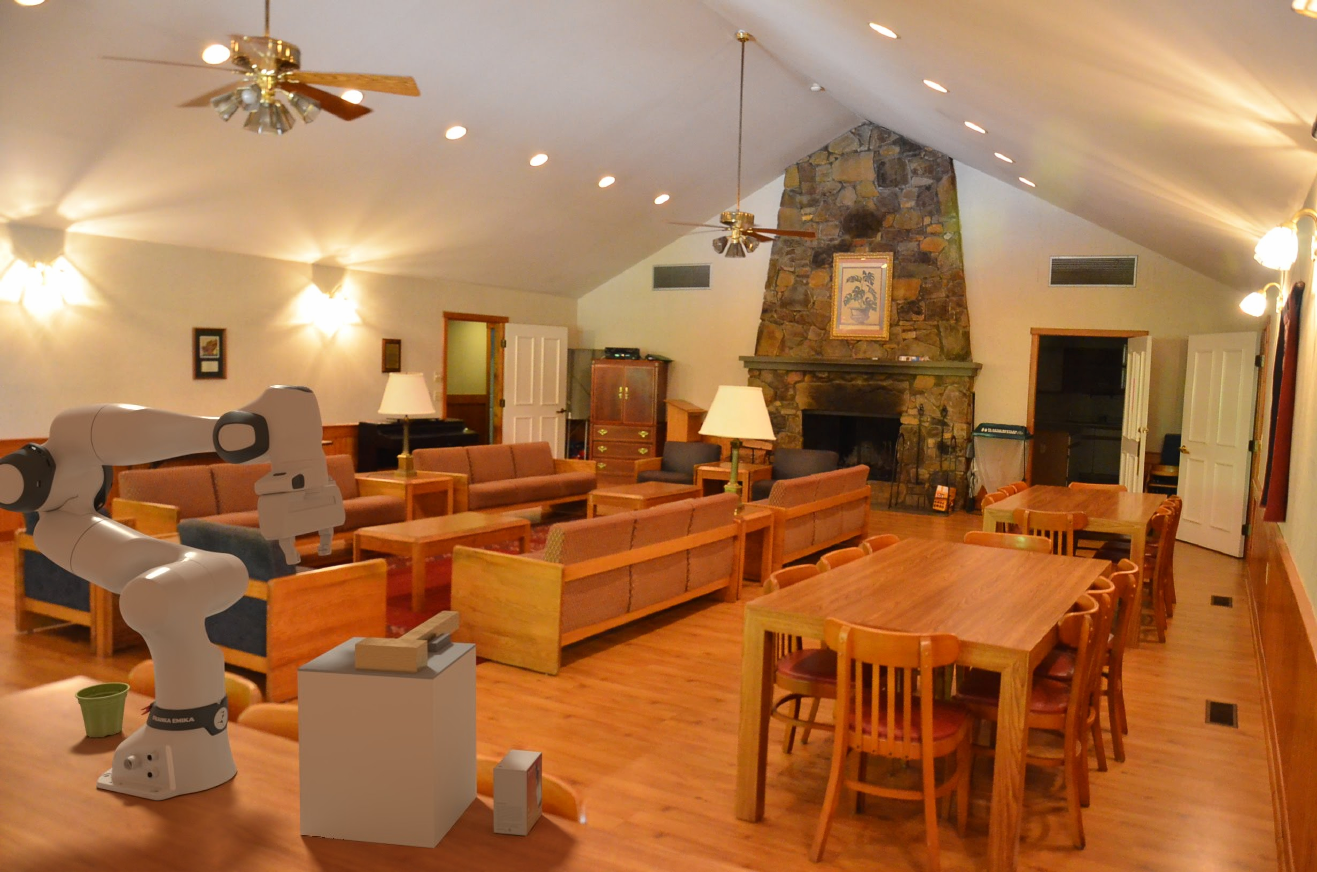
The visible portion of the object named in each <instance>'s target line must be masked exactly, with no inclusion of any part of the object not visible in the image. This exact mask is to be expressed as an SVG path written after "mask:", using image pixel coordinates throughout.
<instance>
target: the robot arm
mask: <svg viewBox="0 0 1317 872" xmlns="http://www.w3.org/2000/svg"><path fill="white" fill-rule="evenodd" d="M323 429H324V428H323V422H322V415H321V411H320V406H319V402H318V400H317V396H316V394H315V393H314V391H313V390H312V389H310V388H309V387H307V386H303V385H289V384H288V385H286V384H273V385H269V386H267V387H266V388H265V389H264V391H262V393H261V394H260V395H259V396H258V397H256V398H255V399H253V400H251V401H250V402H248V403H247V404H245V405H242V406H240V407H238V408H236V409H234V410H231V411H228V412H225V413H223V414H222V415H221V416H220V417H215V416H214V417H213V416H202V415H201V416H199V415H193V414H188V413H183V412H176V411H172V410H167V409H161V408H157V407H151V406H147V405H140V404H134V403H132V404H131V403H120V402H119V403H118V402H117V403H116V402H115V403H114V402H111V403H110V402H107V403H106V402H105V403H92V404H85V405H80V406H74V407H70V408H67V409H64V410H62V411H61V412H59V413H58V414H57V415H56V416H55V417H54V418H53V420H52V422H51V423H50V428H49V432H48V433H49V435H48V439H47V440H46V441H45V442H44V443H42V444H39V443H36V442H28V443H26V444H25V445H23V446H22V447H20V448H18V449H17V450H15V451H13V452H11V453H8V454H6V455H4V456H2V457H1V458H0V508H1V509H3V510H5V511H8V512H12V513H20V514H21V513H22V514H29V513H32V512H37V513H38V515H39V520H38V521H37V522H36V525H35V527H34V528H33V529H34V530H33V533H32V534H33V535H32V537H33V538H32V539H33V543H34V545H35V547H36V549H37V550H38V551H39V552H40V553H42V555H44V556H45V557H46V558H48V559H49V560H50V561H51V562H53V563H54V564H56V565H58V566H59V567H61V568H63V569H64V570H65V571H67V572H69V573H71V574H73V575H74V576H77V577H79V578H81V579H84V580H85V581H88V582H89V583H91V584H94V585H96V586H97V587H99V588H101V589H105V590H107V591H109V592H110V593H114V594H117V595H120V596H119V599H118V602H119V607H118V608H119V612H120V615H121V617H122V619H123V621H124V623H126V625H127V626H128V627H129V628H131V629H132V630H134V631H135V632H137V633H139V634H140V635H141V636H142V638H143V640H144V641H145V643H146V645H147V647H148V649H149V652H150V655H151V660H152V665H153V666H152V667H153V675H154V696H155V698H154V699H155V701H153V702H151V703H150V704H149V705H148V706H145V707H143V708H141V709H140V711H142V712H141V714H140V716H144V715H146V714H148V717H147V719H146V722H145V723H144V724H143V725H141V726H140V727H139V728H138V729H136V730H135V731H134V732H133V733H132V734H130V735H129V736H128V737H127V738H125V739H124V740H123V741H122V742H120V743H119V744H118V746H117V747H116V749H115V751H114V753H113V757H112V764H111V768H109V769H107V770H106V771H104V772H103V773H102V774H101V775H100V776H99V777H98V778H97V781H96V788H99V789H104V790H108V791H113V792H117V793H122V794H126V795H130V796H134V797H140V798H144V799H149V800H153V801H162V800H166V799H169V798H173V797H176V796H181V795H186V794H190V793H196V792H201V791H205V790H208V789H211V788H215V787H216V786H219V785H221V784H224V783H226V782H228V781H229V780H231V779H232V778H233V777H234V776H235V775H236V773H237V771H238V770H237V766H236V762H235V760H234V757H233V753H232V748H231V745H230V739H229V731H228V721H229V700H228V697H229V696H228V694H227V693H226V684H225V683H226V682H225V681H226V680H225V679H226V678H225V674H226V673H225V654H224V652H223V650H222V649H221V647H219V646H218V645H217V644H214V643H213V642H211V641H210V639H209V637H208V633H207V631H206V625H205V621H206V618H208V617H211V616H214V615H217V614H219V613H222V612H224V611H226V610H228V609H229V608H230V607H232V606H233V605H235V604H236V603H237V602H238V601H239V600H241V599H242V598H243V597H244V595H245V594H246V592H247V590H248V588H249V583H250V582H249V581H250V577H249V571H248V568H247V566H246V565H245V563H244V562H243V561H242V559H240V558H239V557H237V556H235V555H234V554H230V553H225V552H223V553H222V552H215V551H208V550H204V549H200V548H195V547H191V546H188V545H185V544H180V543H176V542H171V541H167V540H164V539H159V538H156V537H152V536H150V535H148V534H145V533H144V532H140V531H139V530H136V529H134V528H132V527H129V526H127V525H125V524H123V523H121V522H119V521H116V520H113V519H112V518H109V517H107V516H105V515H102V514H101V513H99V511H100V510H101V509H102V508H104V507H105V505H106V504H107V500H108V496H109V494H110V493H111V491H112V488H113V484H114V477H115V476H114V474H115V473H114V468H113V466H114V467H115V466H121V467H122V466H124V467H125V466H133V465H141V464H147V463H152V462H153V463H154V462H157V461H163V460H168V459H172V458H177V457H181V456H186V455H191V454H198V453H203V452H204V453H206V452H216V454H217V455H218V456H219V458H221V459H222V460H223V461H224V462H226V463H228V464H231V465H232V464H233V465H237V466H238V465H239V466H250V465H262V464H270V468H271V471H268V473H266V474H265V475H264V476H262V477H261V478H259V479H258V480H257V481H255V482H254V486H253V487H254V493H255V494H256V495H258V496H259V497H258V499H257V515H258V525H259V530H260V534H261V536H262V537H263V538H264V540H265V541H274V540H276V541H277V540H278V545H279V547H280V549H281V550H282V551H283V553H284V556H285V562H286V564H287V565H288V566H289V565H296V564H299V563H301V562H302V561H301V560H302V559H301V553H300V552H301V551H297V549H296V546H295V543H296V536H300V535H305V534H308V533H312V532H317V531H318V536H320V539H319V545H316V546H317V554H318V556H321V557H322V556H327V555H331V554H332V541H333V537H334V532H335V531H334V528H335V527H339V526H343V525H344V524H345V521H346V510H345V505H344V501H343V496H342V492H341V489H340V487H339V486H338V485H337V481H336V480H334V479H333V477H332V475H329V474H328V465H327V458H326V453H325V451H324V448H323V436H324V433H323V432H324V431H323Z"/></svg>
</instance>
